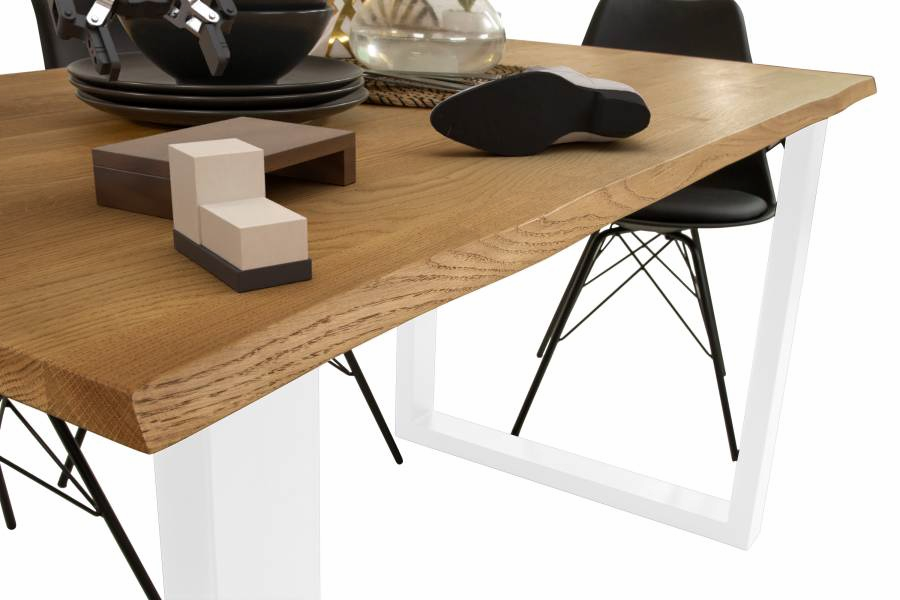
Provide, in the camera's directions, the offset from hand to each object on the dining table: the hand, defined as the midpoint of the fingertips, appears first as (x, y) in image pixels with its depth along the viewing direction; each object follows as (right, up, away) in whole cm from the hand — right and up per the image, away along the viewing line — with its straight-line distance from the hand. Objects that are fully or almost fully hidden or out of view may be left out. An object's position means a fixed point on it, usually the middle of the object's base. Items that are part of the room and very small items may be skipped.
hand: (169, 72), depth 79 cm
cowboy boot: (+30, +2, +45) cm, 55 cm away
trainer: (+7, -15, -5) cm, 17 cm away
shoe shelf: (+2, -8, +15) cm, 17 cm away
